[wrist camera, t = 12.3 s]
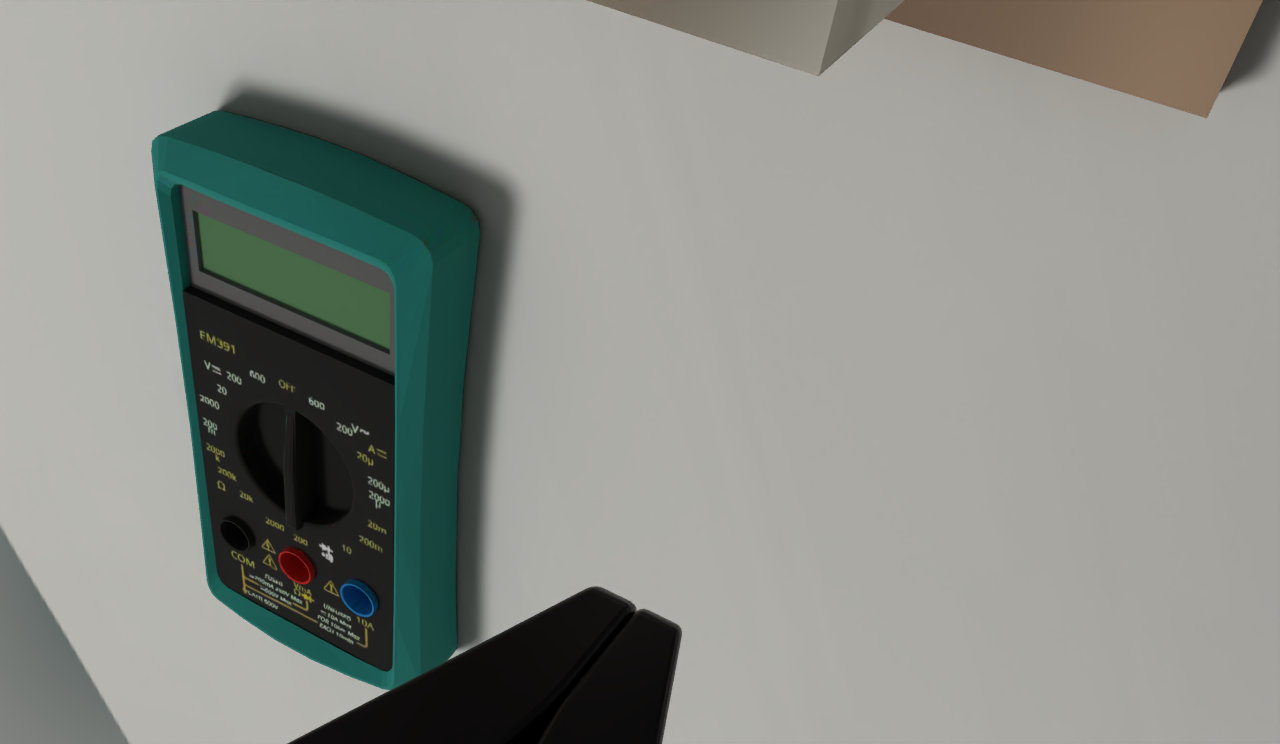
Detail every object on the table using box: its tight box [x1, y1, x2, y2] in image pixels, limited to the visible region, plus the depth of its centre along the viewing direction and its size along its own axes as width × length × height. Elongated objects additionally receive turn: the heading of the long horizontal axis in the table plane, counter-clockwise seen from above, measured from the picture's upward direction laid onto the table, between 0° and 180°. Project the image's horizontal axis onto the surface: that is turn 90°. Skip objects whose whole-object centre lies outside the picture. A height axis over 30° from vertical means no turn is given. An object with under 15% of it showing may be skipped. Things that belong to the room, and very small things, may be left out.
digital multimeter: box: [151, 111, 480, 690], centre depth 29 cm, size 7×15×3 cm, turn 173°
